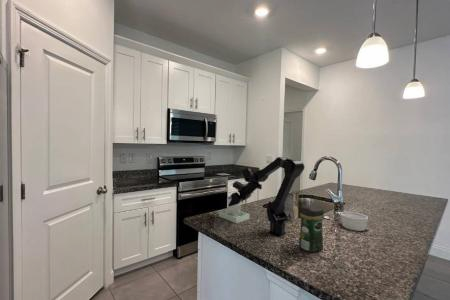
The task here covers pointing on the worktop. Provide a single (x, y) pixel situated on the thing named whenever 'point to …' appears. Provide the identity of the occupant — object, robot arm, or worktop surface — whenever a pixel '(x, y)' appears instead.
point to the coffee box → (292, 205)
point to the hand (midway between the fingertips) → (232, 203)
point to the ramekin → (354, 221)
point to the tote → (231, 218)
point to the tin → (234, 209)
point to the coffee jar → (311, 228)
